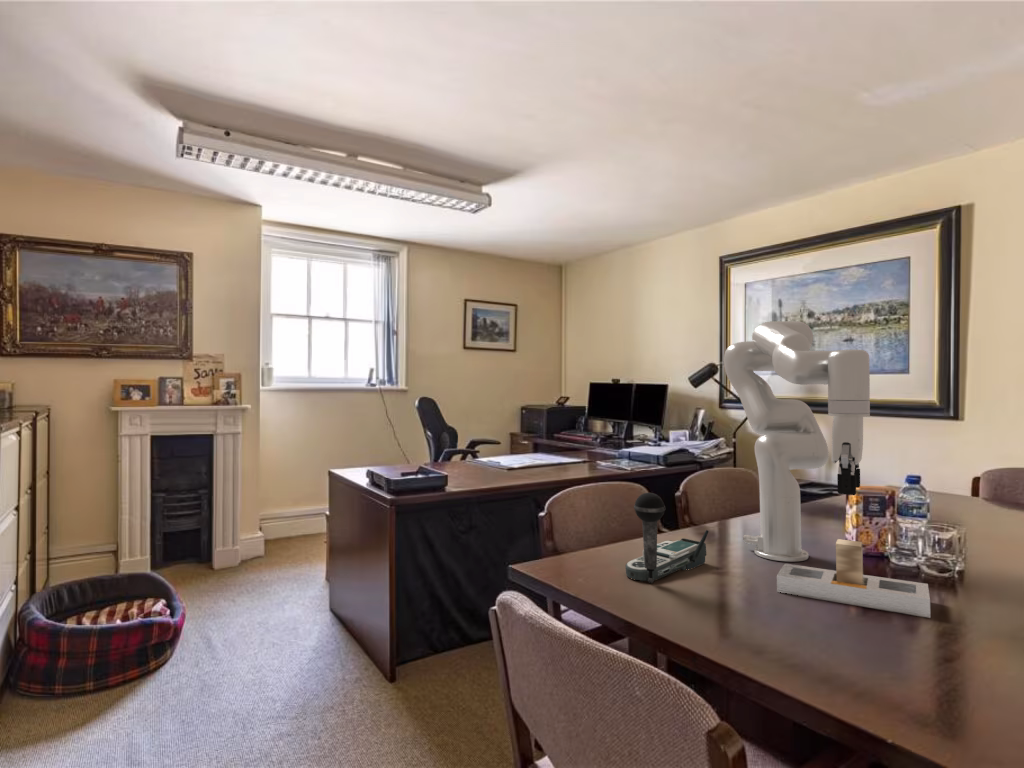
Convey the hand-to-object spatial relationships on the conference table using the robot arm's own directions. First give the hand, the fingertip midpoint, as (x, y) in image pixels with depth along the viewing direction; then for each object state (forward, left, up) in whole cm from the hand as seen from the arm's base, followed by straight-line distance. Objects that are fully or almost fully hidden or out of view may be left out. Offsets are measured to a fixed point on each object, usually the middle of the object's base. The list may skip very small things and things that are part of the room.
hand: (849, 490), depth 119 cm
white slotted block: (0, -3, -21) cm, 21 cm away
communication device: (-39, -5, -22) cm, 45 cm away
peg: (0, -3, -21) cm, 21 cm away
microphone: (-37, -16, -22) cm, 46 cm away
